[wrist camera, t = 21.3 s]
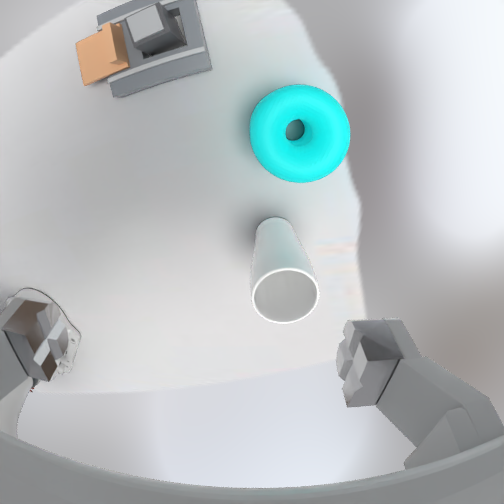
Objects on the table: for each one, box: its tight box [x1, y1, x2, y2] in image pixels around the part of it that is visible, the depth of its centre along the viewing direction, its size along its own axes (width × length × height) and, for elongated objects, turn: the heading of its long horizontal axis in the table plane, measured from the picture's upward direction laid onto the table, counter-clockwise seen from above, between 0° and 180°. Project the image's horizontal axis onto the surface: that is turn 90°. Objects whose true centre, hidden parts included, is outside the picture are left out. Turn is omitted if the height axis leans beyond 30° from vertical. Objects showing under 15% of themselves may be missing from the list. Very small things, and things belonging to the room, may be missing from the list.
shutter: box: [76, 22, 130, 86], centre depth 27 cm, size 6×6×4 cm
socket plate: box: [97, 0, 212, 97], centre depth 29 cm, size 12×12×4 cm
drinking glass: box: [250, 217, 320, 324], centre depth 36 cm, size 7×7×15 cm
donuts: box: [250, 85, 350, 183], centre depth 32 cm, size 10×10×10 cm
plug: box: [124, 2, 186, 56], centre depth 27 cm, size 4×4×9 cm
